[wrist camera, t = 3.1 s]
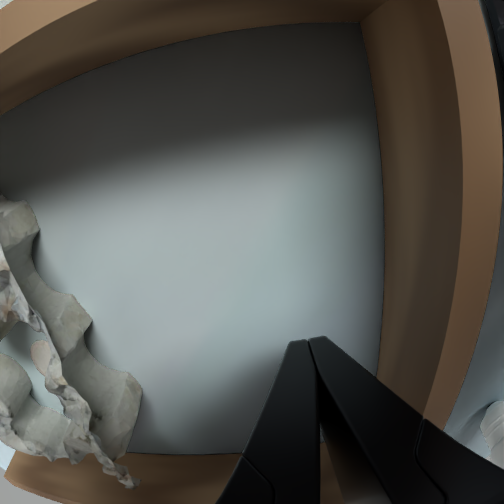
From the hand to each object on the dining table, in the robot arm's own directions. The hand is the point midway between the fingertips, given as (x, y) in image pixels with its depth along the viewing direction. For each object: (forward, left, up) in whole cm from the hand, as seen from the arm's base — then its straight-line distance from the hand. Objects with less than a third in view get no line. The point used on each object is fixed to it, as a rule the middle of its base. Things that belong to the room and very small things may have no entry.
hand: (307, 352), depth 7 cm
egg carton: (+10, 0, -2) cm, 10 cm away
